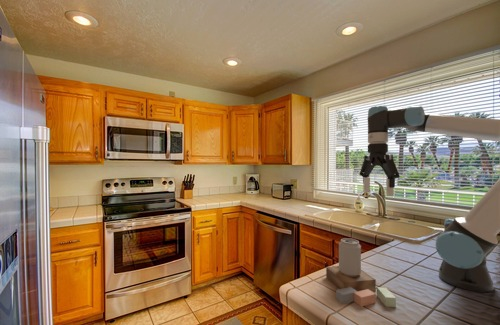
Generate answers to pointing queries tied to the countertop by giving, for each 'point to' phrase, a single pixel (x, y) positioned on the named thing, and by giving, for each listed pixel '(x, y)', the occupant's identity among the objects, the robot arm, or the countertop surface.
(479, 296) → the countertop surface
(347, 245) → the can
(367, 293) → the brick terracotta
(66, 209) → the countertop surface
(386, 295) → the brick sage
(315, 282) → the countertop surface
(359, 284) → the walnut block
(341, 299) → the brick slate
